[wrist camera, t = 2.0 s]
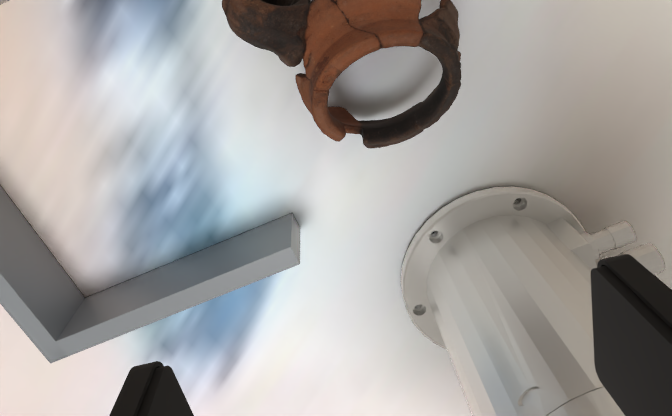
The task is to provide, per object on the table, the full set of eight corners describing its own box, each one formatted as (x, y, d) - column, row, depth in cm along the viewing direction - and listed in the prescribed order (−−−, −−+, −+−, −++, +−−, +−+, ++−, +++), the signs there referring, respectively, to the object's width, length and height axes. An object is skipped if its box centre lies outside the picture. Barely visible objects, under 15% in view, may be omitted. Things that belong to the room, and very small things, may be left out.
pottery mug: (458, -66, 28) (519, 27, 23) (390, 76, 35) (426, 170, 30) (228, -126, 23) (245, -26, 19) (203, 50, 30) (210, 155, 26)
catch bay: (137, -95, 26) (105, -108, 22) (300, 228, 34) (299, 263, 29) (-135, 40, 28) (-211, 52, 24) (79, 318, 35) (50, 363, 31)
